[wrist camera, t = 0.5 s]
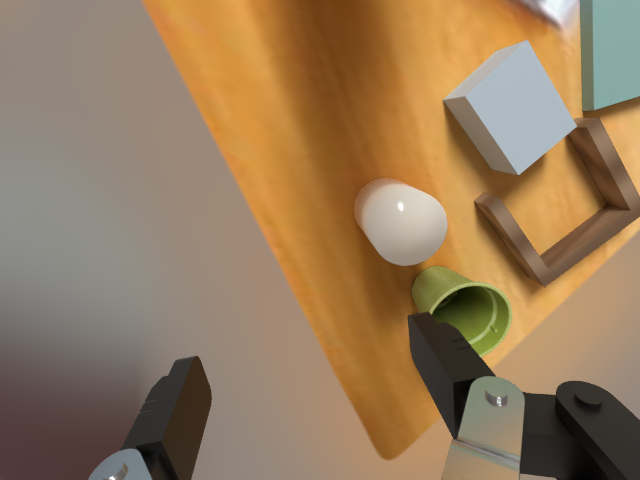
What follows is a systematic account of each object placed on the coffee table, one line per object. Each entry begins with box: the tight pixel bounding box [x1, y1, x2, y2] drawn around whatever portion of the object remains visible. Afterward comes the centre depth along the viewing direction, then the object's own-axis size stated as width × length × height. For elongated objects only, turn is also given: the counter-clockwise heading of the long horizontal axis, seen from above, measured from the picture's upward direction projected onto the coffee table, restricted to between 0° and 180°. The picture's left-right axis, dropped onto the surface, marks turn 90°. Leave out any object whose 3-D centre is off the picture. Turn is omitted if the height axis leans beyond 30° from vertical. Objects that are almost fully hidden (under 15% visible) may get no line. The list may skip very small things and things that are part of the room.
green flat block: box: [580, 0, 640, 111], centre depth 35 cm, size 12×8×2 cm, turn 16°
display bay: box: [474, 117, 640, 287], centre depth 39 cm, size 14×14×3 cm
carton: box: [443, 40, 577, 175], centre depth 35 cm, size 10×7×5 cm
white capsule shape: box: [354, 177, 447, 266], centre depth 35 cm, size 7×7×9 cm
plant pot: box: [412, 266, 512, 357], centre depth 39 cm, size 9×9×9 cm
